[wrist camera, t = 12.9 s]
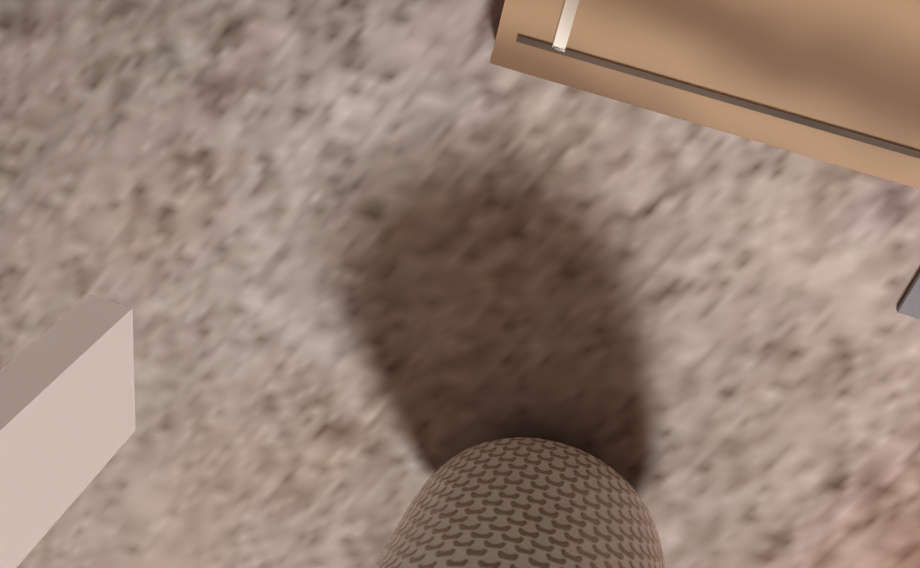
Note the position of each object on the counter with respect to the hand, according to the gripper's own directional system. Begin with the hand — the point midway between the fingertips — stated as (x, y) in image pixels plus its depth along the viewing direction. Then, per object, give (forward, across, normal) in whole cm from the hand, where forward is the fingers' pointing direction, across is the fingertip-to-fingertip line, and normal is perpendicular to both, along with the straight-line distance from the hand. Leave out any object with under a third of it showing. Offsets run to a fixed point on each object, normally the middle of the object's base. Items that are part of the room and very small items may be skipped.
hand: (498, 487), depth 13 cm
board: (+31, +10, +2) cm, 32 cm away
